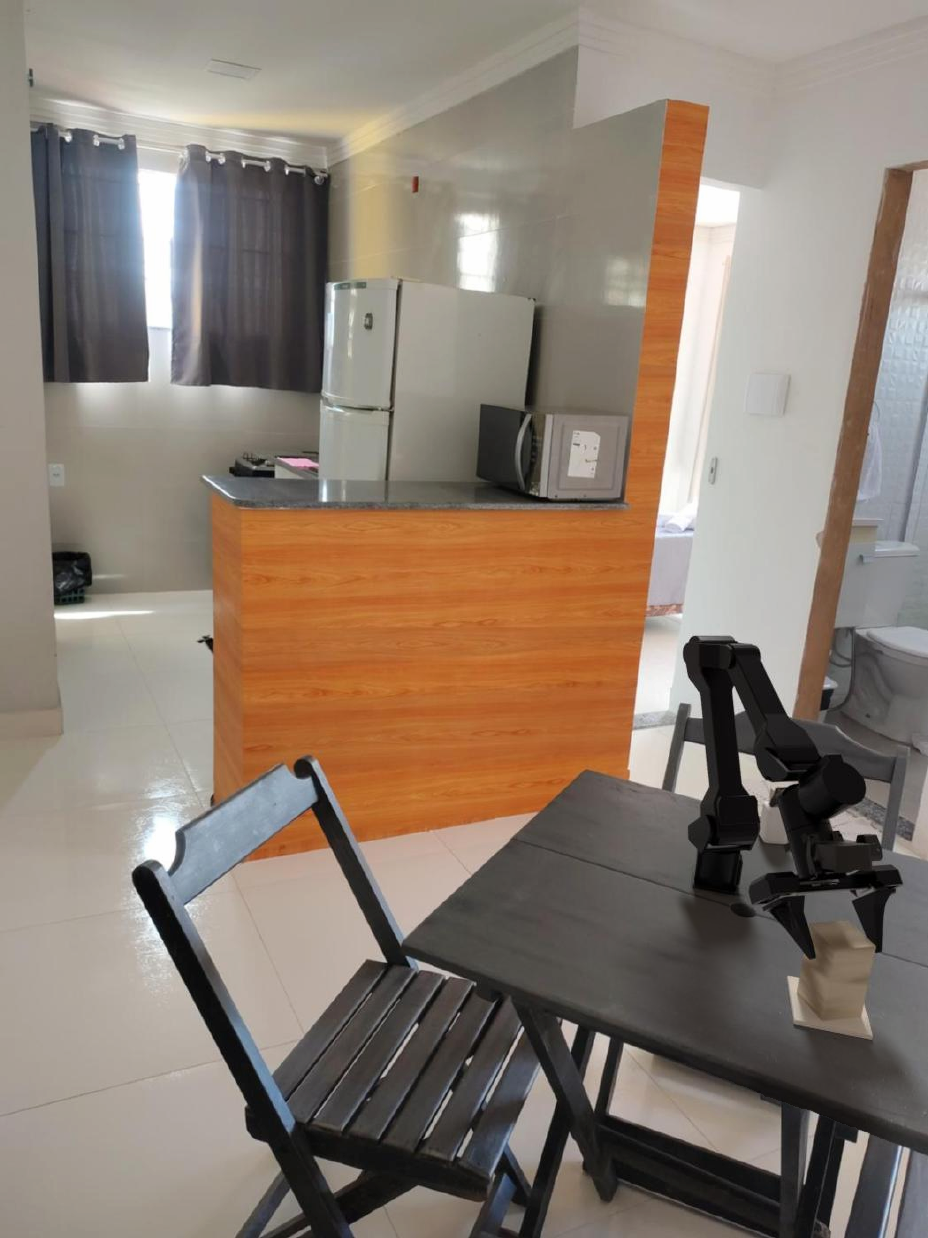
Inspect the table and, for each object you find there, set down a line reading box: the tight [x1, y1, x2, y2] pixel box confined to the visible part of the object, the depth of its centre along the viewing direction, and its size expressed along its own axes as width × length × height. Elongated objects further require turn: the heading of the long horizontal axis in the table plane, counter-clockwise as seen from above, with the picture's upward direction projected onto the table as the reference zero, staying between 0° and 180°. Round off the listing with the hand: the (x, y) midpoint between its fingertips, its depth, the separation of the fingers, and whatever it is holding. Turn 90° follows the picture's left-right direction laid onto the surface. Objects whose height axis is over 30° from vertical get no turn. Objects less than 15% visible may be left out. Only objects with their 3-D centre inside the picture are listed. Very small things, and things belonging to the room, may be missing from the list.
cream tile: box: [786, 975, 874, 1041], centre depth 117 cm, size 9×9×1 cm
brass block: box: [797, 919, 876, 1021], centre depth 116 cm, size 6×6×10 cm
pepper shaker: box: [758, 784, 788, 845], centre depth 159 cm, size 4×4×10 cm
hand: (846, 956), depth 114 cm, fingers open, 9 cm apart
